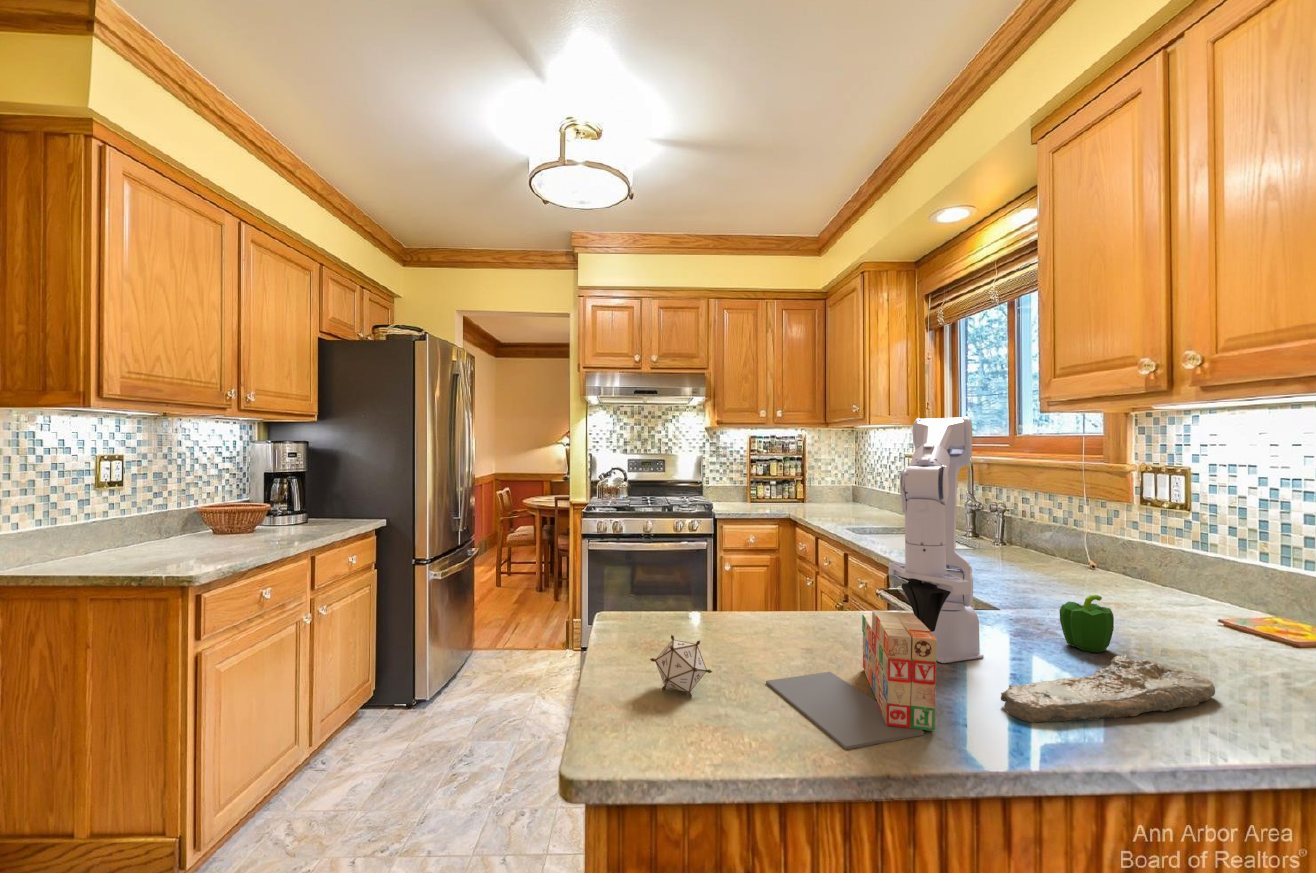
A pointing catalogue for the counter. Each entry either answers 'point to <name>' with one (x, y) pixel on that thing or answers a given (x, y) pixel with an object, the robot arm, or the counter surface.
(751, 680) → the counter surface
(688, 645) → the game die
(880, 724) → the mat
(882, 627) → the stack of blocks
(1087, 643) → the bell pepper
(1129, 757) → the counter surface
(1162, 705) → the long grey stone
